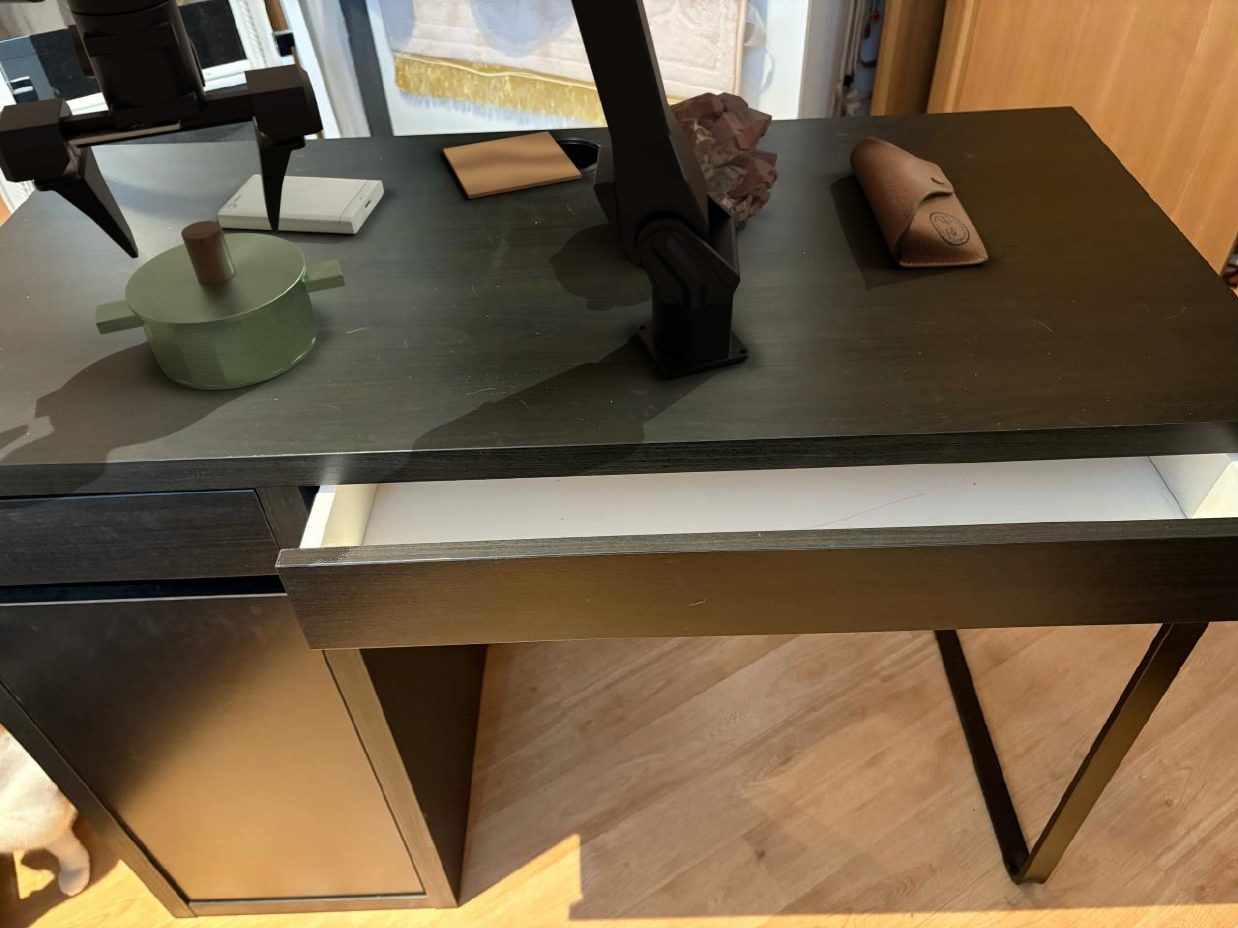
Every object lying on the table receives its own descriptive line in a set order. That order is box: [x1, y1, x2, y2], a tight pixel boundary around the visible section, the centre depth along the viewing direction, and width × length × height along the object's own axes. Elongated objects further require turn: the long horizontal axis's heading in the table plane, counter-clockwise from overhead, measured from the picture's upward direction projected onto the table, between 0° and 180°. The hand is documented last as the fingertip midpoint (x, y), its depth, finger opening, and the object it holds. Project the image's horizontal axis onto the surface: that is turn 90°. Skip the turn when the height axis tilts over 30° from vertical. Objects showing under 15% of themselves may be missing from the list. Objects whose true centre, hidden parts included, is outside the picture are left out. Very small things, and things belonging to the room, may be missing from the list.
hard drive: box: [216, 174, 385, 235], centre depth 87 cm, size 2×8×12 cm
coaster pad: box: [442, 130, 583, 200], centre depth 94 cm, size 11×11×1 cm
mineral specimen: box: [669, 91, 780, 228], centre depth 80 cm, size 12×13×15 cm
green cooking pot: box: [94, 258, 346, 391], centre depth 70 cm, size 11×17×5 cm
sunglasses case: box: [849, 136, 989, 269], centre depth 83 cm, size 18×7×7 cm, turn 2°
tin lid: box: [124, 220, 307, 329], centre depth 67 cm, size 12×12×5 cm
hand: (206, 242), depth 66 cm, fingers open, 9 cm apart
